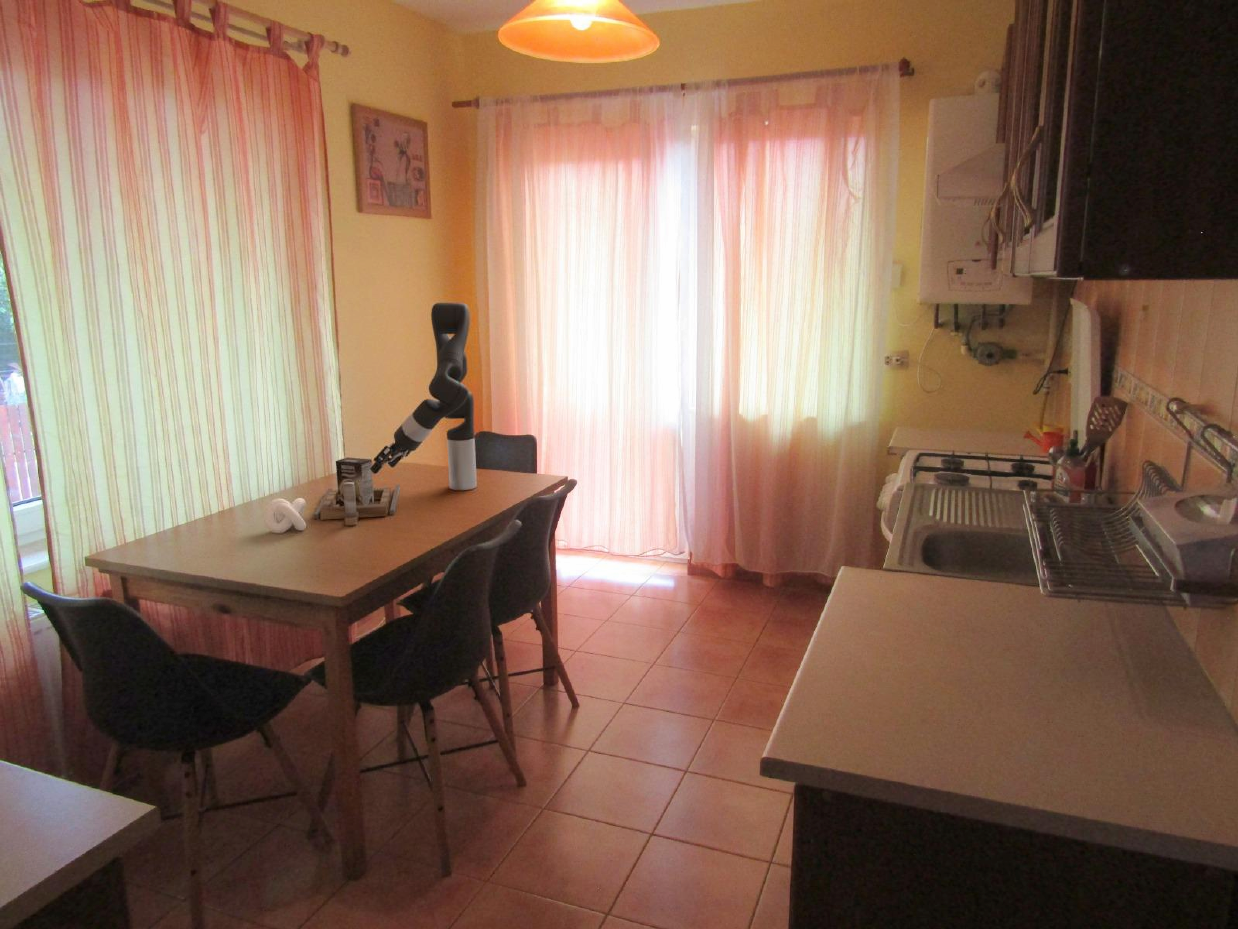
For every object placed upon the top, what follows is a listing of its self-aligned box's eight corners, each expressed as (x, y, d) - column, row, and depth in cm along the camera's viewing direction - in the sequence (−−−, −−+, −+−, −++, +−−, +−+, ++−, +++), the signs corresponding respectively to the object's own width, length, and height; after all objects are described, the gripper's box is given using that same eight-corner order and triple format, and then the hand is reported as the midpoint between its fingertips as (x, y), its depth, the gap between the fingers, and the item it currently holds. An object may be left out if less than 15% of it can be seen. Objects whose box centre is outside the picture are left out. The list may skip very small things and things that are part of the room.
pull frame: (331, 499, 281) (328, 463, 279) (391, 496, 285) (388, 460, 282) (316, 527, 251) (313, 487, 248) (384, 523, 254) (381, 483, 251)
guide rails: (328, 493, 290) (328, 488, 290) (399, 489, 295) (399, 485, 294) (314, 519, 260) (313, 514, 259) (394, 514, 264) (393, 509, 264)
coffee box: (338, 511, 268) (334, 461, 264) (350, 506, 274) (346, 456, 270) (364, 513, 265) (360, 462, 262) (375, 508, 271) (372, 458, 268)
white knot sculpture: (262, 538, 242) (259, 507, 240) (267, 526, 253) (264, 496, 251) (305, 534, 245) (302, 504, 243) (308, 523, 256) (305, 493, 254)
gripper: (419, 417, 248) (387, 454, 254) (390, 425, 235) (358, 463, 241) (436, 436, 247) (404, 472, 253) (408, 445, 234) (375, 483, 240)
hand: (381, 468), depth 247 cm, fingers open, 8 cm apart
